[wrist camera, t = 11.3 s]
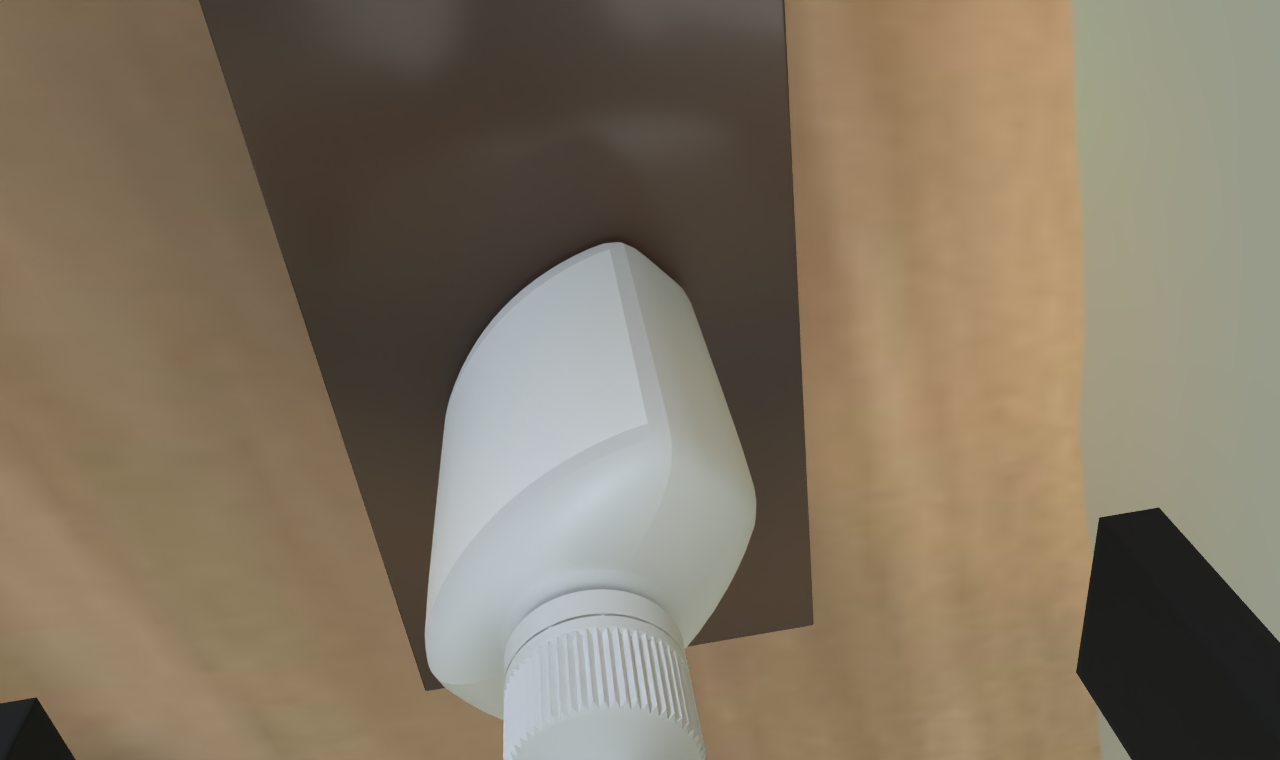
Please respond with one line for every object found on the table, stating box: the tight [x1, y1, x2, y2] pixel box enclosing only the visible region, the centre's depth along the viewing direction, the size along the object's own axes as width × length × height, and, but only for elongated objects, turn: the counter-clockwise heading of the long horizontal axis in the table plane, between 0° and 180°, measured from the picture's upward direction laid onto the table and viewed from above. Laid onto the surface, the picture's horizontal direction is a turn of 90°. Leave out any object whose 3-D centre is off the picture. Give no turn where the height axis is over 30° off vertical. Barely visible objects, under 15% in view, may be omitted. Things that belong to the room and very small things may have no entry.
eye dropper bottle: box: [425, 242, 756, 760], centre depth 16 cm, size 4×6×12 cm
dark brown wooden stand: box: [199, 0, 813, 691], centre depth 25 cm, size 18×10×10 cm, turn 7°
